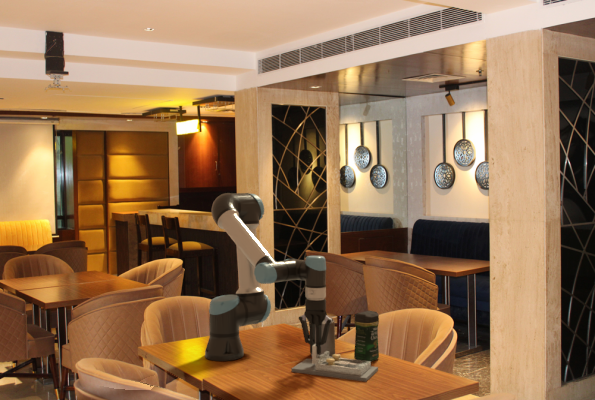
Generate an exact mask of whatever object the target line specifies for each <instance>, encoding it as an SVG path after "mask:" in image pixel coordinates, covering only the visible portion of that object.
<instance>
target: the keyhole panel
mask: <svg viewBox="0 0 595 400" xmlns="http://www.w3.org/2000/svg"><path fill="white" fill-rule="evenodd" d="M328 358H332V357H330V356H329V351H326V352H324V353H323V354H321V355H320V356H318V357H317V358H315V370H319V371H327V372H334V373H342V374H350V375H358V376H362V375H363V374H364V373H365V372H366V371H367V370H368V369H369V368H371V366H372V365H371V364H372V363H371V362H372V361H364V360H356V359H355V358H347V357H341V358H339V360H335V362H334V363H333V365H330V364H328V363H327V362H326V359H328ZM333 359H334V358H333Z"/></svg>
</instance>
